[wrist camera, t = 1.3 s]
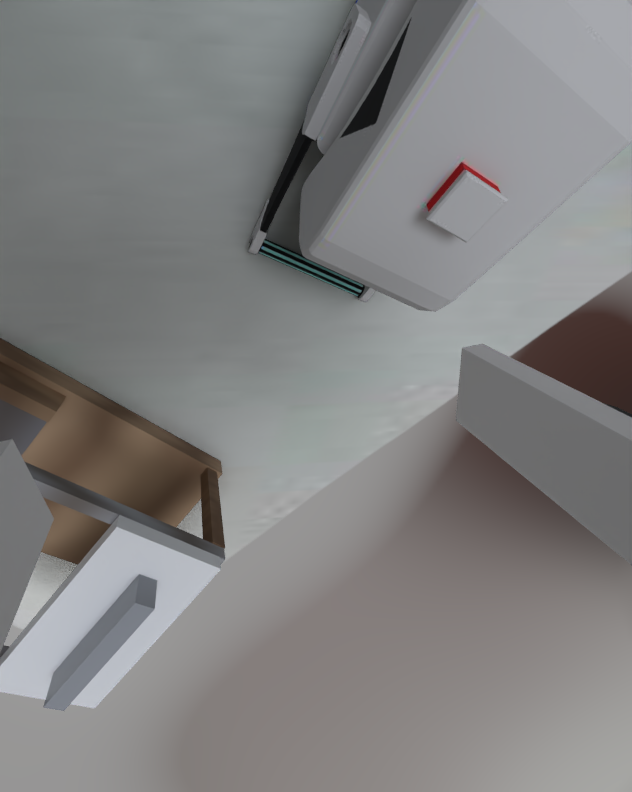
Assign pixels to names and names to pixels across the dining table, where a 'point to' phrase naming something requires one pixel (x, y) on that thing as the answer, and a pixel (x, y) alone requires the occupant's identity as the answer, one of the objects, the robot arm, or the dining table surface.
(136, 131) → the dining table surface
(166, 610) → the lid
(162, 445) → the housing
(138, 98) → the dining table surface
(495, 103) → the robotic device
